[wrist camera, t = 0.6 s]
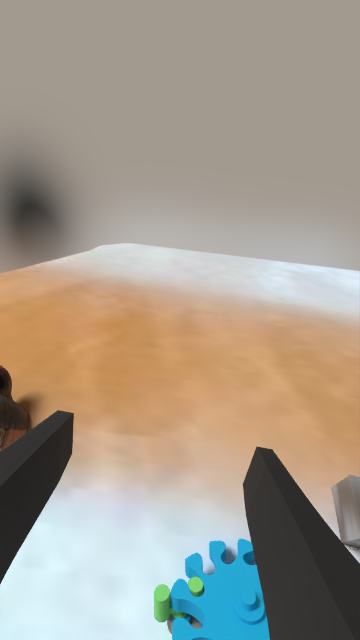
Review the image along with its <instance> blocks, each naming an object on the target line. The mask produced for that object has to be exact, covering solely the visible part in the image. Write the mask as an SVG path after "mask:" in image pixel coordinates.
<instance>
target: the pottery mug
mask: <svg viewBox="0 0 360 640" xmlns="http://www.w3.org/2000/svg"><path fill="white" fill-rule="evenodd" d="M11 389H12V381H11V377H10V374H9V373H8V371H7V370H6V369H5V368H3V367H2V366H0V428H3V429H6V433H5V437H4V440H3V442H2V445H1V447H0V449H1V450H3V449H5V448H6V447H8V446H9V445H10V444H12V443H13V442H15V441H16V440H18V439H19V438H20V437H22V436H23V435H25V434H26V432H27V428H28V421H29V419H28V413H27V411H26V410H25V409H24V408H23V407H21V406H20V405H18V404H17V403H16V402H15V401H13V400H12V396H11Z"/></svg>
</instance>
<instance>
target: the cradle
mask: <svg viewBox="0 0 360 640" xmlns="http://www.w3.org/2000/svg"><path fill="white" fill-rule="evenodd" d="M332 493H333V498H334V504H335V509H336V515H337V520H338V526H339V531H340V537H341V542H342V543H343V544H347V545H351V546H354V547H358V548H360V477H357V476H352V475H349V476H348V477H346V478H345V479H343V480H342V481H340V482H339V483H337V484H336V485H335V486H333V487H332Z"/></svg>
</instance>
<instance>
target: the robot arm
mask: <svg viewBox="0 0 360 640" xmlns="http://www.w3.org/2000/svg"><path fill="white" fill-rule="evenodd" d="M73 417H74V413H70V412H64V411H59V410H58V411H56V412H55V413H54V414H52V415H51V416H49V417H48V418H47V419H45V420H44V421H43V422H41V423H40V424H38V425H37V426H36V427H34V428H33V429H32V430H30V431H29V432H27V433H26V434H25V435H23V436H22V437H20V438H19V439H18V440H16V441H15V442H13V443H12V444H10V445H9V446H8V447H6V448H5V449H3V450H2V451H0V584H1V582H2V580H3V578H4V576H5V574H6V572H7V570H8V568H9V567H10V565H11V563H12V561H13V559H14V557H15V556H16V554H17V552H18V550H19V549H20V547H21V545H22V544H23V542H24V540H25V539H26V537H27V535H28V534H29V532H30V530H31V529H32V527H33V525H34V523H35V522H36V520H37V518H38V517H39V515H40V513H41V512H42V510H43V508H44V507H45V505H46V503H47V501H48V500H49V498H50V496H51V495H52V493H53V491H54V489H55V488H56V486H57V484H58V482H59V481H60V478H61V476H62V474H63V472H64V470H65V468H66V466H67V463H68V461H69V459H70V457H71V455H72V444H73ZM243 490H244V501H245V509H246V517H247V522H248V527H249V532H250V537H251V542H252V547H253V551H254V556H255V561H256V566H257V570H258V575H259V580H260V585H261V590H262V594H263V599H264V605H265V610H266V616H267V622H268V629H269V637H270V640H360V564H359V562H358V561H357V560H356V559H355V558H354V556H353V555H352V554H351V553H350V552H349V551H348V549H347V548H346V547H345V546H344V544H343V543H342V542H341V541H340V540H339V538H338V537H337V536H336V535H335V533H334V532H333V531H332V530H331V528H330V527H329V526H328V525H327V523H326V522H325V521H324V520H323V518H322V517H321V516H320V514H319V513H318V512H317V510H316V509H315V508H314V507H313V505H312V504H311V502H310V501H309V500H308V498H307V497H306V496H305V494H304V493H303V492H302V490H301V489H300V488H299V486H298V485H297V483H296V482H295V481H294V479H293V478H292V476H291V475H290V474H289V472H288V471H287V469H286V468H285V467H284V465H283V464H282V462H281V461H280V460H279V458H278V457H277V455H276V454H275V453H274V451H273V450H272V449H267V448H261V447H256V450H255V453H254V455H253V458H252V461H251V464H250V466H249V469H248V472H247V475H246V477H245V480H244V483H243Z"/></svg>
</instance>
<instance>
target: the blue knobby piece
mask: <svg viewBox="0 0 360 640" xmlns="http://www.w3.org/2000/svg"><path fill="white" fill-rule="evenodd" d="M209 554H210V559H211V560H212V562H213V563H214V565H215V568H216V569H215V572H214V573H213V574H211V575H207V574H205V573H204V572H203V567H202V557H201V555H200V554H198V553H195V554H192V555H191V556H189V557H188V558H186V559H185V572H186V575H187V577H188V578H190V580H189V582H188V584H187V582H186V581H185V580H183V579H178V580H177V581H176V582H175V584H174V585H173V587H172V590H171V592H170V590H169V588H168V587H167V586H166V585H163V584H162V585H159V586H157V587H156V589H155V591H154V616H155V619H156V620H157V621H158V622H165V621H166V620H167V625H168V629H169V631H170V633H171V634H172V640H270V637H269V629H268V622H267V616H266V610H265V605H264V599H263V594H262V590H261V585H260V580H259V575H258V570H257V566H256V564H255V565H248V564H247V563H250V562H252V561H253V560H254V551H253V547H252V543H251V542H249V541H247V540H244V539H239V540H238V556H237V557H236V559H235V560H234V562H233V563H232V564H225V563H224V561H225V559H226V546H225V543H224V542H222V541H211V542H210V544H209Z"/></svg>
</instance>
